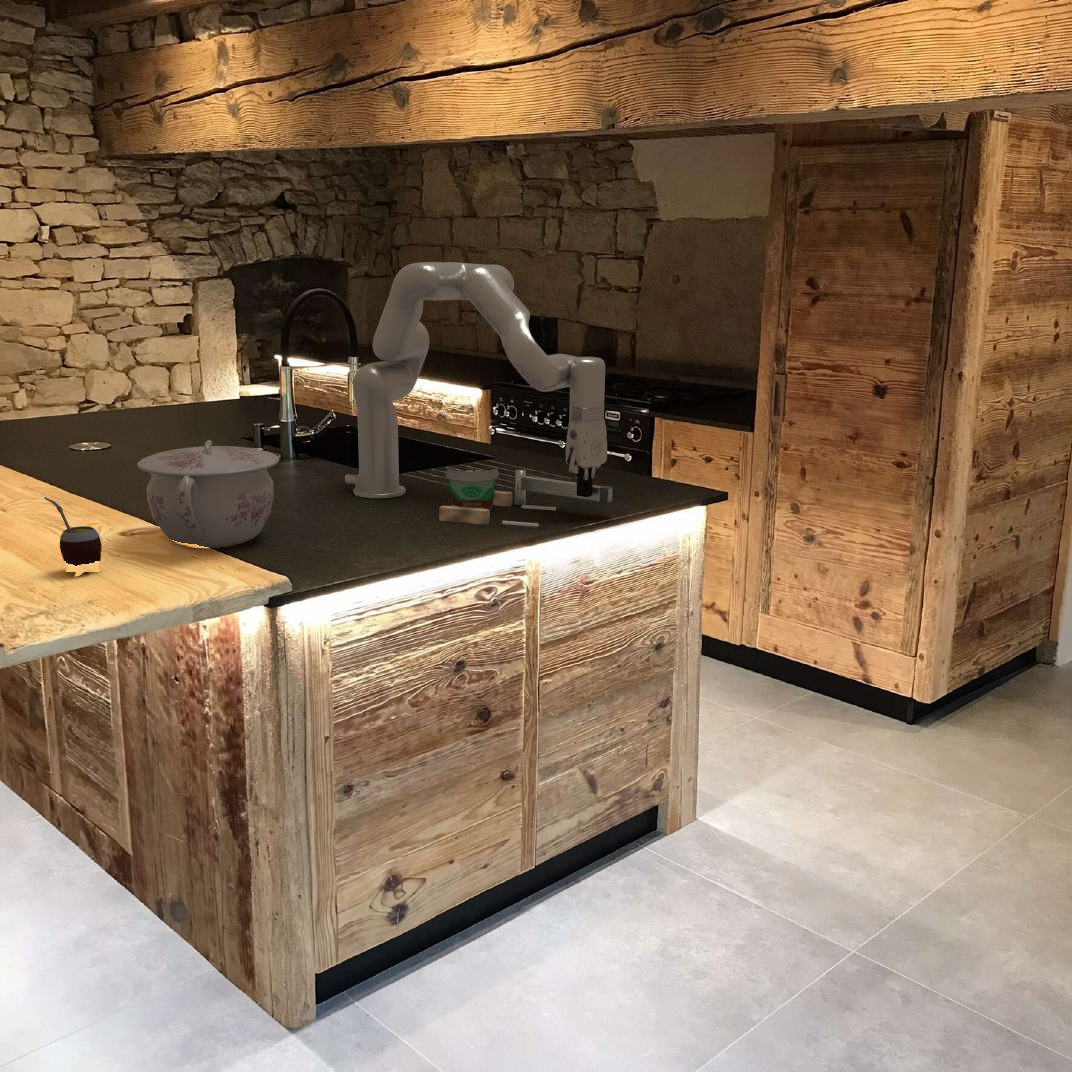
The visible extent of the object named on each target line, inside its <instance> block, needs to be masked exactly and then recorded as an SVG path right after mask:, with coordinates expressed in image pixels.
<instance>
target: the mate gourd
mask: <svg viewBox="0 0 1072 1072" xmlns="http://www.w3.org/2000/svg"><path fill="white" fill-rule="evenodd" d="M43 499H44V500H46V501H47V502H49V503H50V504H52V505H54V507H56V510H57V511H58V513H59V514H60V517H61V518H62V520H63V523H64V524H65V528H66V529H65V530H63V532H62V533H61V535H60V538H59V539H60V540H59V549H60V554H61V556H62V559H63V562H64V561H66V563H68V564H73V565H75V566H77V565H81V564H89V563H94V562H95V561H100V562H101V560H102V559H101V558H102V545H103V544H102V542H101V541H102V540H101V538H100V533H99V532H98V530H97V529H96V528H95V527H92V526H85V525H84V526H83V525H82V526H73V527H70V525H69V523H68V520H67V518H66V515H65V513H64V510H63V508H62V507H61V505H60V504H58V503H57V502H56V501H55V500H52V499H50V498H48V497H46V496H44V498H43Z"/></svg>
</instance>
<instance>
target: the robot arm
mask: <svg viewBox="0 0 1072 1072" xmlns="http://www.w3.org/2000/svg"><path fill="white" fill-rule="evenodd" d="M514 280H515V279H514V277H513V275H512V274H511V272H510V270H508V269H507V268H506V267H505V266H503V265H499V264H483V263H482V264H480V263H467V262H466V263H465V262H454V261H453V262H452V261H450V262H448V261H447V262H442V261H429V262H428V261H427V262H426V261H425V262H414V263H410V264H407V265H406V266H404V267H402V268H401V269H400V270H399V271H398V272H397V274H396V275H395V276H394V279H393V281H392V283H391V284H392V285H391V287H390V291H389V295H388V297H387V300H386V303H385V305H384V309H383V310H382V313H381V316H380V319H379V322H378V324H377V328H376V330H375V333H374V335H373V339H372V351H373V353H374V354H375V356H376V357H377V359H379V360H381V361H376V362H371V363H367V364H366V365H363V366H362V367H360V368H358V370H357V371H356V373H355V374H354V376H353V382H352V391H353V397H354V401H355V404H356V415H357V417H356V418H357V432H358V433H357V437H358V438H357V440H358V441H357V443H358V474H356V475H354V474H345V476H344V482H345V484H348V485H351V484H354V486H355V487H354V488H353V489H352V490H353V495H354V496H356V497H359V498H367V499H389V498H390V499H391V498H392V499H393V498H396V497H397V498H398V497H400V496H403V495H405V493H406V487H404V486H403V485H400V477H399V476H400V475H399V473H400V471H399V469H400V467H399V466H400V465H399V463H400V462H399V423H398V415H397V411H396V409H395V404H394V400H396V401H397V400H400V399H403V398H405V397H407V396H408V395H410V393H411V392H412V391H413V389H414V388H415V385H416V384H417V381H418V378H419V376H420V373H421V371H422V368H423V365H424V363H425V360H426V357H427V355H428V352H429V349H430V336H429V332H428V330H427V328H426V327H425V325H424V324H423V323H422V322H420V319H421V318H422V315H423V311H424V301H449V300H450V301H451V300H452V301H453V300H455V301H457V300H459V301H469V302H470V303H471V304H472V305H473V306H474V307H475V309H476V310H477V311H478V312H479V313H480V314H481V316H482V317H483V318H484V319H485V320H486V322H488V324H489V325H490V326H491V328H492V329H493V330H494V331H495V332H496V334H497V335H498V336H499V337H500V340H501V344H502V347H503V349H504V351H505V354H506V357H507V358H508V360H509V362H510V363H511V365H512V366H513V367H514V369H516V371H517V372H518V373H519V374H520V376H521V377H522V378H523V379H524V380H525V381H526V382H527V384H529V386H530V387H532V388H534V389H535V390H537V391H538V392H543V393H544V392H552V391H555V390H561V389H564V388H569V419H568V420H569V422H568V426H567V434H566V443H565V462H566V464H567V466H569V467H568V472H569V473H571V474H574V475H575V476H574V477H575V479H576V483H577V496H582V497H590V496H592V487H593V485H594V483H593V482H594V479H595V475H596V471H597V470H598V469H599V468H600V467H601V466H602V465H603V464H605V463H606V462H607V459H608V439H607V438H608V437H607V425H606V421H605V417H604V416H605V413H604V411H605V391H606V390H605V384H606V380H605V379H606V363H605V360H604V359H603V358H600V357H595V356H575V355H570V354H565V353H555V354H547V353H546V352H545V351H544V350H543V349H542V348H541V346H539V344H538V343H537V342H536V340H535V338H534V337H533V336H532V334H531V331H530V327H529V324H530V323H529V321H530V318H531V312H530V311H529V309H528V308H527V307H526V305H525V304H524V303H523V302H522V301H521V300H520V298H518V297H517V296H516V294H515V293H514V289H515V282H514Z"/></svg>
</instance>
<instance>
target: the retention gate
mask: <svg viewBox="0 0 1072 1072" xmlns="http://www.w3.org/2000/svg"><path fill="white" fill-rule="evenodd" d="M514 487H515V489H514V490H515V496H514V499H515V500H514V501H515V502H514V504H515V505H516V506H522V505H526V502H527V501H526V500H527V499H526V496H527V495H526V492H534V493H541V494H549V495H553V496H561V497H567V498H574V499H575V498H576V499H581V500H582V499H583V500H588V501H596V502H599V503H601V504H607V505H608V504H610V503H612V502H613V493H614V489H613V488H614V486H610V485H603V486H602V485H595V484H593V487H592V496H590V497H582V496H577V482H573V481H566V480H559V479H551V478H545V477H536V476H530V475H527V470H525V469H515V486H514Z"/></svg>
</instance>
